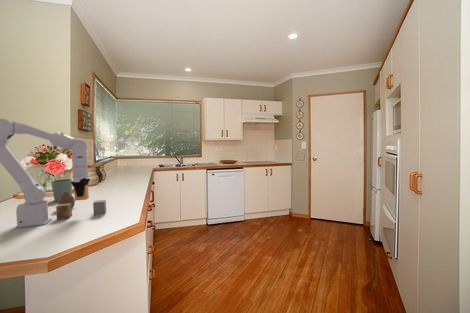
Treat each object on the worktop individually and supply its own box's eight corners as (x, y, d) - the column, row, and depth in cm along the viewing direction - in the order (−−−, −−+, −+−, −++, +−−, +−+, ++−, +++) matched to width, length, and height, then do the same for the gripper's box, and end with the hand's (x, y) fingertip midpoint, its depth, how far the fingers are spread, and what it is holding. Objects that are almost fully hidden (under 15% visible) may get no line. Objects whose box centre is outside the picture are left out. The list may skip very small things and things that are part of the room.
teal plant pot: (64, 201, 134) (63, 181, 134) (47, 201, 134) (46, 181, 134) (76, 197, 144) (75, 178, 144) (61, 197, 144) (60, 179, 144)
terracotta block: (74, 200, 103) (74, 187, 102) (77, 198, 107) (76, 185, 106) (86, 199, 104) (85, 186, 104) (88, 197, 108) (88, 184, 108)
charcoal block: (93, 215, 106) (93, 202, 105) (95, 213, 110) (95, 200, 109) (104, 214, 107) (104, 201, 107) (106, 211, 111) (105, 199, 111)
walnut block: (56, 220, 100) (56, 206, 100) (60, 217, 105) (59, 204, 104) (69, 218, 102) (68, 205, 102) (72, 215, 106) (71, 203, 106)
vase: (55, 210, 116) (54, 193, 115) (69, 206, 122) (68, 190, 122) (64, 211, 113) (63, 194, 113) (78, 207, 120) (77, 191, 119)
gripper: (86, 167, 99) (88, 197, 100) (93, 164, 113) (94, 191, 114) (67, 167, 97) (69, 199, 98) (76, 165, 110) (78, 193, 111)
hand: (81, 195), depth 105 cm, fingers closed on terracotta block, 4 cm apart
